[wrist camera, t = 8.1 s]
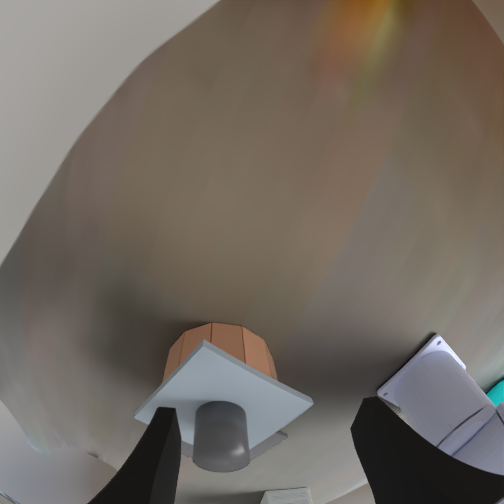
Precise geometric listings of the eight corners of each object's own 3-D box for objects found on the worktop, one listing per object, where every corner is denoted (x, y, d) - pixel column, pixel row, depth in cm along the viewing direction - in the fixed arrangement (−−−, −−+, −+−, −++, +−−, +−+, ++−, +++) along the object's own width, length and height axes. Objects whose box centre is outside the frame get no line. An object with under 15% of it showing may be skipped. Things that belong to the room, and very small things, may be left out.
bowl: (292, 357, 22) (305, 398, 17) (230, 410, 23) (231, 450, 19) (208, 304, 20) (204, 344, 15) (151, 369, 21) (140, 410, 17)
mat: (287, 434, 25) (287, 437, 25) (231, 468, 27) (231, 471, 27) (211, 402, 23) (211, 405, 22) (161, 442, 25) (161, 445, 24)
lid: (311, 397, 18) (327, 446, 14) (232, 453, 19) (235, 496, 15) (203, 339, 15) (199, 394, 11) (135, 411, 17) (123, 458, 13)
